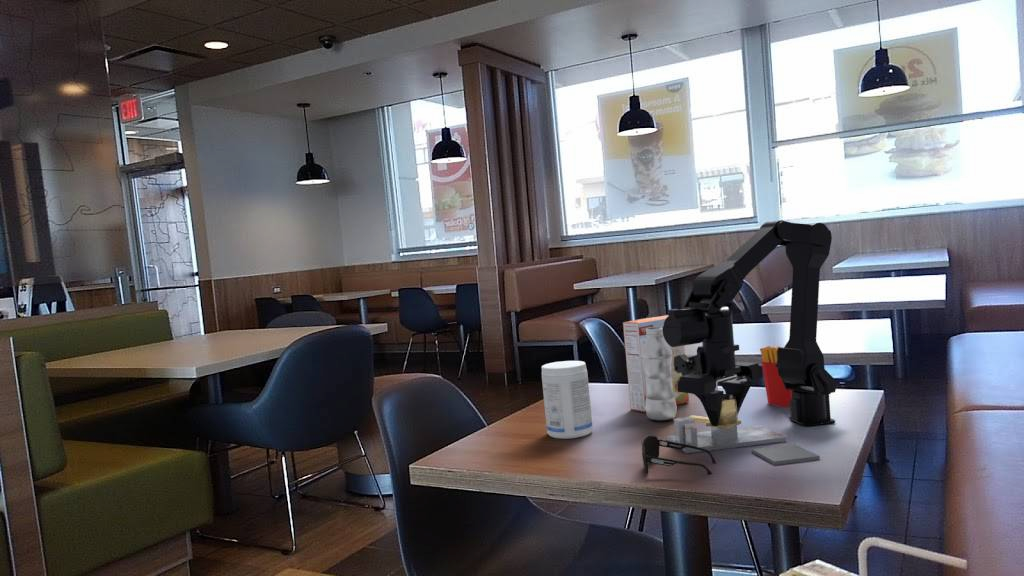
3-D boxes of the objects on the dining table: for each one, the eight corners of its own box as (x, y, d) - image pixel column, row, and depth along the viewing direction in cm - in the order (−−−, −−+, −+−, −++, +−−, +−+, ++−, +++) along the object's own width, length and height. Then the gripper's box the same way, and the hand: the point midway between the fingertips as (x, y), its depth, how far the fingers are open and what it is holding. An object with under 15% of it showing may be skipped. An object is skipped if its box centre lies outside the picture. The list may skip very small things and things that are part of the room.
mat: (794, 447, 125) (794, 444, 125) (819, 459, 118) (819, 455, 117) (751, 452, 124) (751, 449, 124) (774, 465, 117) (774, 461, 116)
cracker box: (671, 399, 173) (665, 314, 172) (690, 402, 168) (683, 315, 167) (628, 409, 166) (621, 321, 165) (646, 413, 161) (639, 321, 160)
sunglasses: (648, 457, 127) (649, 430, 127) (717, 469, 122) (718, 440, 122) (634, 476, 117) (636, 446, 117) (709, 489, 113) (710, 458, 112)
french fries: (807, 404, 157) (803, 346, 156) (797, 408, 154) (793, 348, 154) (769, 400, 164) (766, 344, 163) (759, 403, 161) (755, 346, 161)
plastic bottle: (678, 422, 150) (671, 328, 149) (645, 423, 151) (638, 330, 150) (677, 415, 156) (670, 325, 155) (646, 416, 157) (639, 327, 157)
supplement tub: (589, 426, 153) (584, 358, 152) (596, 437, 143) (590, 365, 143) (544, 430, 152) (539, 362, 152) (548, 441, 143) (542, 369, 142)
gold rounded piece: (743, 423, 133) (741, 392, 133) (728, 429, 130) (725, 398, 129) (698, 417, 141) (696, 388, 140) (682, 422, 137) (680, 393, 137)
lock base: (760, 429, 139) (758, 404, 139) (785, 441, 129) (784, 415, 129) (667, 439, 137) (665, 414, 137) (686, 453, 127) (684, 426, 127)
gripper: (712, 332, 145) (718, 408, 145) (651, 345, 133) (657, 427, 134) (761, 334, 136) (766, 415, 136) (699, 348, 124) (706, 436, 125)
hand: (723, 422), depth 133 cm, fingers closed on gold rounded piece, 5 cm apart
